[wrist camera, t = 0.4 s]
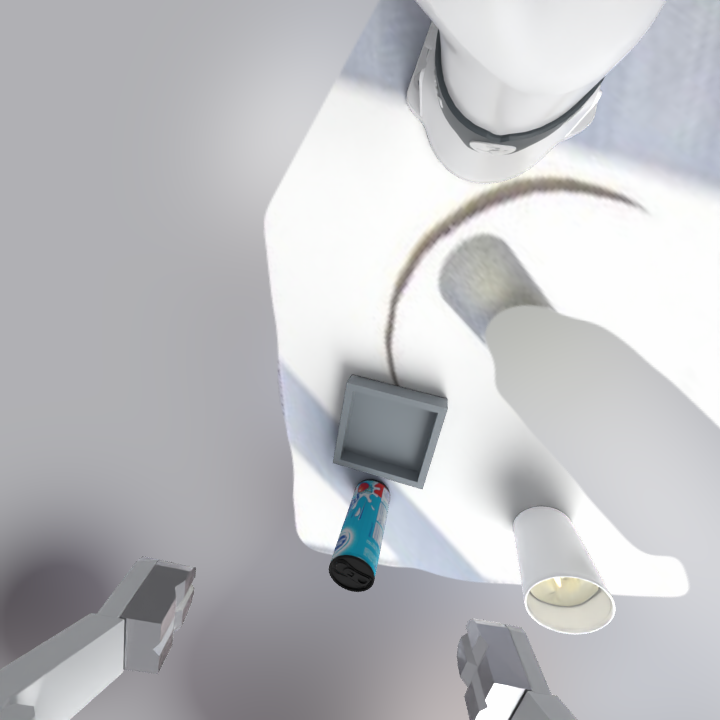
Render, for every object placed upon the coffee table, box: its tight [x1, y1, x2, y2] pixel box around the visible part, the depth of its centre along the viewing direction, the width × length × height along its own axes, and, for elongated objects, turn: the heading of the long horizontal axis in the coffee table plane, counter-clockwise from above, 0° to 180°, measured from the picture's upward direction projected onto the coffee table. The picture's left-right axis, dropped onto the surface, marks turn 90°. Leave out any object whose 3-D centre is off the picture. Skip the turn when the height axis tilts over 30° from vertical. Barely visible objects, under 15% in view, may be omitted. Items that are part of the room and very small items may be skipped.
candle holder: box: [513, 506, 615, 634], centre depth 47 cm, size 10×10×12 cm
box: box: [333, 375, 448, 489], centre depth 51 cm, size 14×14×3 cm
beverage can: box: [329, 480, 390, 592], centre depth 50 cm, size 6×6×15 cm
